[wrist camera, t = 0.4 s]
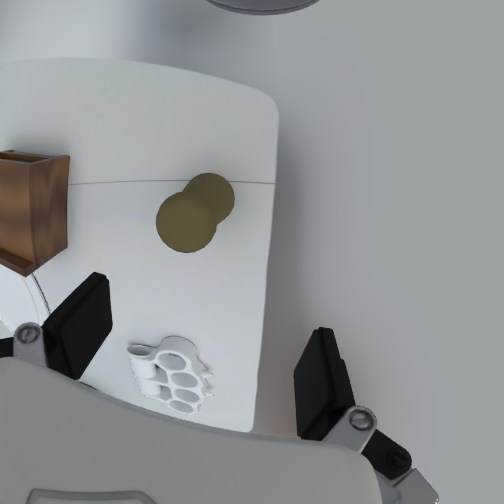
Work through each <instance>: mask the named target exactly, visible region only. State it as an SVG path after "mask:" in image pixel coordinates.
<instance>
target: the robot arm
mask: <svg viewBox="0 0 504 504" xmlns="http://www.w3.org/2000/svg"><path fill="white" fill-rule="evenodd" d="M112 326H113V322H112V313H111V301H110V287H109V280H108V279H107V278H106V276H105V275H103V274H100V273H97V272H93V273H92V274H91V275H90V276H89V277H88V278H87V279H86V280H85V281H83V282H82V283H81V284H80V285H79V286H78V287H77V288H76V289H75V290H74V291H73V292H72V293H71V294H70V295H69V296H68V297H67V298H66V299H65V300H64V301H63V302H62V303H61V304H60V305H59V306H58V307H57V308H56V309H55V310H54V311H53V312H52V313H51V314H50V316H49V317H48V318H47V319H46V320H45V321H44V322H43V324H42V326H41V327H40V325H38V324H37V323H34V322H27V323H23V324H21V325H20V326H19V327H17V329H16V330H15V332H14V337H10V338H4V339H0V504H438V501H439V498H438V494H437V493H436V491H435V490H434V489H433V488H432V487H431V485H430V484H429V483H428V482H427V481H426V479H425V478H424V477H423V476H422V475H421V474H420V472H419V471H418V470H417V469H416V468H415V469H412V467H411V465H412V459H411V456H410V454H409V452H408V451H407V450H406V449H404V448H403V447H401V446H400V445H398V444H397V443H395V442H394V441H393V440H391V439H390V438H388V437H387V436H386V435H384V434H383V433H381V432H380V431H379V430H377V429H376V427H377V419H376V416H375V415H374V413H373V412H372V411H371V410H370V409H368V408H366V407H364V406H356V404H355V400H354V396H353V392H352V388H351V384H350V380H349V376H348V373H347V369H346V365H345V362H344V360H343V359H341V358H340V354H339V350H338V347H337V343H336V339H335V336H334V332H333V330H332V329H330V328H324V327H319V328H318V330H316V329H315V330H314V331H313V333H312V335H311V337H310V339H309V341H308V344H307V346H306V348H305V350H304V352H303V354H302V356H301V358H300V360H299V362H298V364H297V366H296V368H295V370H294V388H295V403H296V420H297V435H298V436H299V437H301V439H293V438H282V437H274V436H265V435H258V434H251V433H244V432H238V431H232V430H227V429H222V428H217V427H212V426H207V425H203V424H198V423H194V422H190V421H186V420H182V419H178V418H175V417H171V416H168V415H164V414H161V413H158V412H154V411H151V410H148V409H145V408H142V407H139V406H136V405H133V404H131V403H128V402H125V401H122V400H120V399H117V398H115V397H112V396H109V395H107V394H105V393H102V392H100V391H97V390H95V389H93V388H91V387H88V386H86V385H84V384H82V383H79V382H77V381H75V380H76V379H77V380H78V379H80V377H81V376H82V374H83V373H84V371H85V369H86V368H87V366H88V365H89V363H90V362H91V360H92V359H93V357H94V355H95V354H96V352H97V351H98V349H99V348H100V346H101V345H102V343H103V342H104V340H105V339H106V337H107V336H108V335H109V333H110V332H111V330H112Z"/></svg>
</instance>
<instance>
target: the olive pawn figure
mask: <svg viewBox="0 0 504 504" xmlns="http://www.w3.org/2000/svg"><path fill="white" fill-rule="evenodd" d="M234 200H235V198H234V192H233V189H232V187H231V185H230V184H229V183H228V182H227V181H226V180H225V179H224V178H223V177H221V176H219V175H217V174H212V173H205V174H200V175H198V176H196V177H194V178H193V179H192V180H191V181H190V182H189V183H188V184H187V186H186V187H185V188H184V190H183V191H182V192H178V193H176V194H174V195H172V196H170V197H169V198H167V199H166V200H165V201H164V202H163V203H162V205H161V206H160V208H159V211H158V213H157V216H156V227H157V231H158V234H159V236H160V237H161V239H162V241H163V242H164V243H165V244H166V245H167V246H168V247H170V248H171V249H173V250H175V251H178V252H183V253H191V252H196V251H198V250H200V249H202V248H204V247H205V246H206V245H207V244H208V243H209V242H210V241H211V239H212V238H213V236H214V234H215V232H216V227H217V224H219V223H220V222H221V221H222V220H224V219H225V218H226V217H227V216H228V215H229V214H230V212H231V210H232V209H233V206H234Z"/></svg>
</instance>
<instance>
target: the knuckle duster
mask: <svg viewBox="0 0 504 504" xmlns="http://www.w3.org/2000/svg"><path fill="white" fill-rule="evenodd" d="M126 353H127V355H128V356H129V359H130V363H131V366H132V369H133V374H134V375H135V378H136V380H137V383H138V386H139V391H140V392H141V393H142V394H143V395H144V396H146V397H149V398H152V399H156V400H160V401H162V402H164V403H166V404H167V405H168V406H169V407H170V408H171V409H173V410H174V411H176V412H179V413H182V414H187V415H191V414H196V413H198V412H199V409H200V405H201V403H202V402H203V400H204V398H205V397H206V396H212V395H214V394H212V393H211V392H210V391H209V390H208V389H207V386H208V383H207V382H206V380H205V379H206V378H207V377H209V376H211V375H213V374H212V373H209V372H207V371H206V368H205V366H204V364H203V363H202V362H200V361H199V360H198V358H197V356H196V347H195V346H194V345H193V344H192V343H191V342H190V341H188V340H186V339H184V338H181V337H176V336H172V337H167V338H165V339H164V340H163V341H162V342H161V344H160V346H159V347H157V348H153V347H148V346H142V345H130V346H128V347H127V351H126ZM169 353H173V354H176V355H179V356H180V357H177V356H173V355H171V354H169ZM155 364H157V365H158V366H159V367H161V368H162V369H161V368H156V367H155ZM187 373H188V374H187ZM166 386H167V387H166Z"/></svg>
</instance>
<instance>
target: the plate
mask: <svg viewBox="0 0 504 504" xmlns="http://www.w3.org/2000/svg"><path fill="white" fill-rule="evenodd" d="M49 316H50V314H49V311H48V307H47V305H46V302H45V299H44V297H43V295H42V292H41V290H40V288H39V286H38V284H37V282H36V280H35V278H34V277H33V275H32V273H31V274H30V275H29V276H27V277H24V276H22V275H20V274H18V273H16V272H14V271H12V270H10V269H8V268H7V267H5V266H3V265H1V264H0V320H1V321H2V322H3V324H4V325H5V326H6V327H7V328H8V329H9V330H10V331H11V332H12V333H13V334H14V332H15V330H16V329H17V327H19V326H20V325H21V324H23V323H27V322H34V323H37V324H38V325H40V327H41V326H42V324H43V322H44V321H45V320H46V319H47V318H48V317H49Z"/></svg>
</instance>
